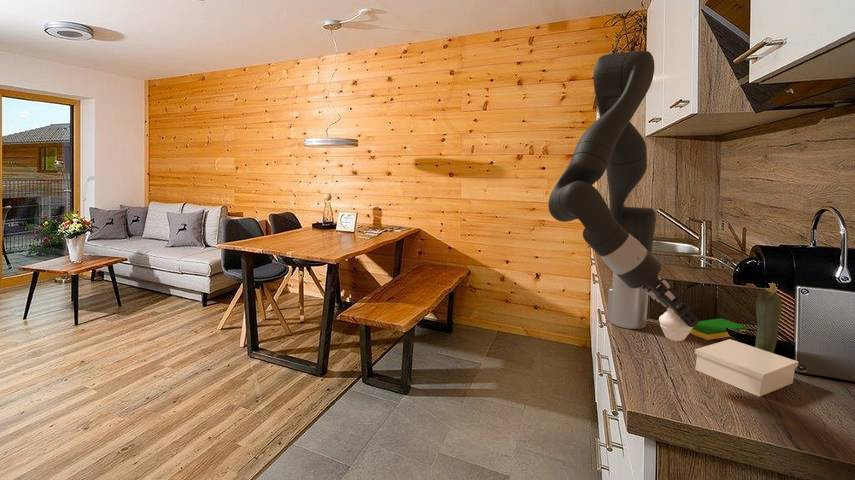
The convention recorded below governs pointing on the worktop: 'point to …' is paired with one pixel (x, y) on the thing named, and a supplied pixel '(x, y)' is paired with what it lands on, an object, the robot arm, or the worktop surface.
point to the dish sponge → (715, 328)
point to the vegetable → (768, 318)
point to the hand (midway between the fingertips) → (685, 317)
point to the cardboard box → (745, 366)
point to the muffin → (674, 326)
